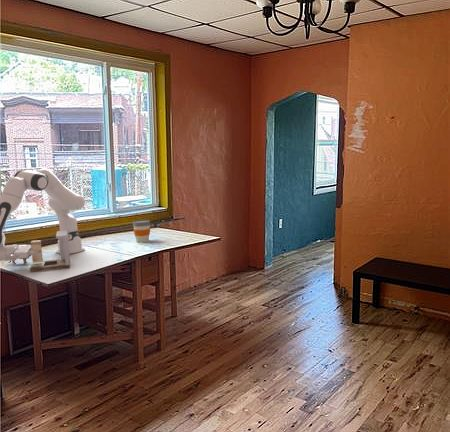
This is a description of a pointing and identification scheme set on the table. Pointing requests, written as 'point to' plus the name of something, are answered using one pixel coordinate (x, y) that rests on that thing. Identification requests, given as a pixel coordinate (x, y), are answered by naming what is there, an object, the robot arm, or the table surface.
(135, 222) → the reusable coffee cup
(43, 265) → the sage pad
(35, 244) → the beech block
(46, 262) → the walnut board
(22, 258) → the lion figurine
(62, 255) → the grey tunnel
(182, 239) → the table surface
